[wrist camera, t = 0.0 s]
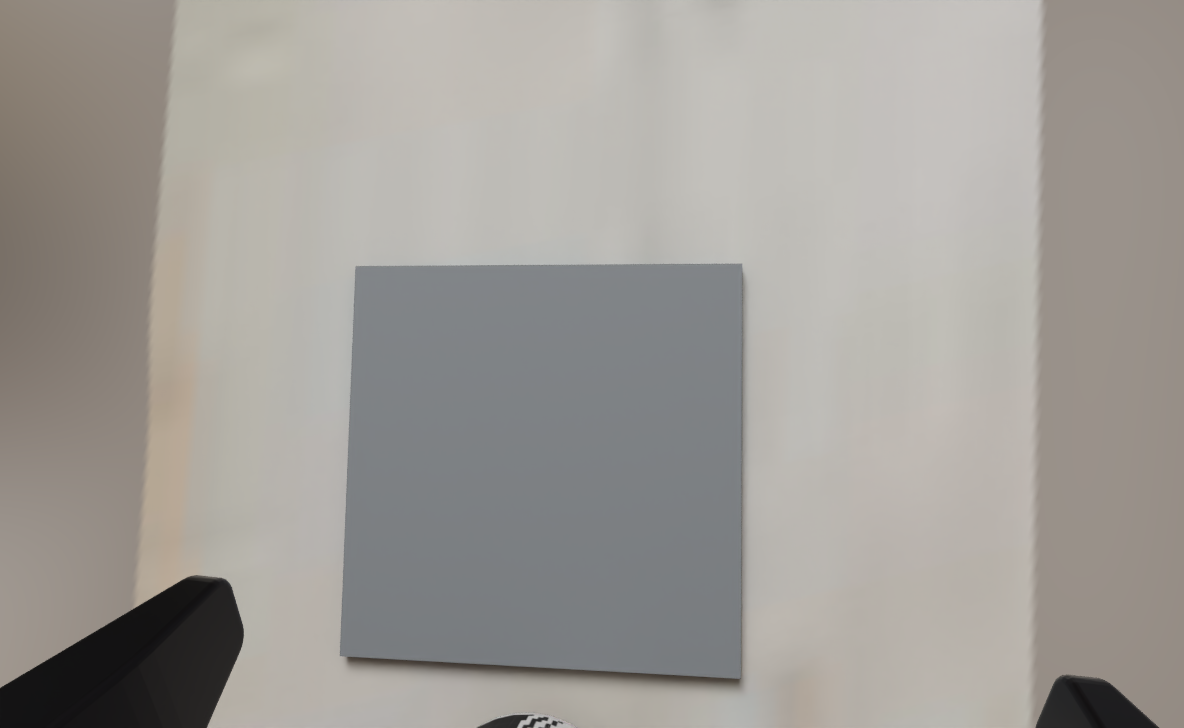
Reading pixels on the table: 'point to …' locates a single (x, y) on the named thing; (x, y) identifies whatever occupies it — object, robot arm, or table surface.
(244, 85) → the table surface
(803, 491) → the table surface
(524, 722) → the beverage can
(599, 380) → the mat
